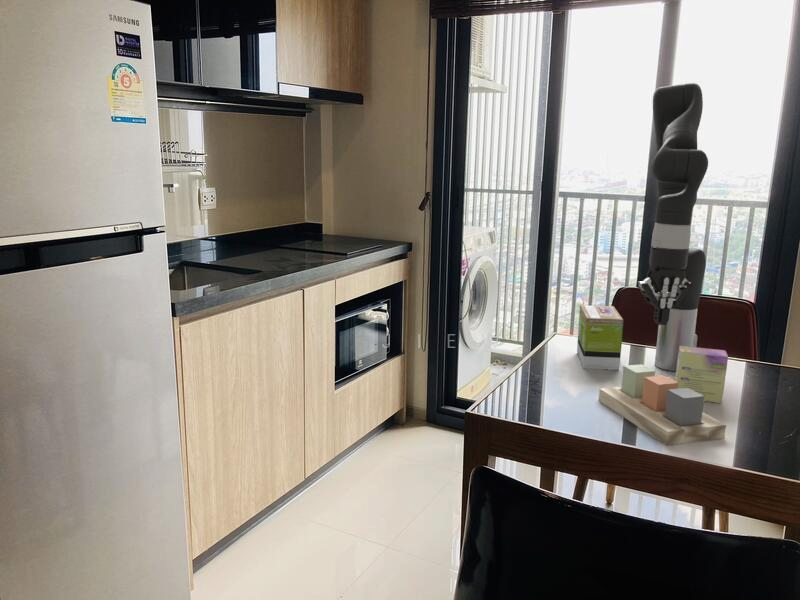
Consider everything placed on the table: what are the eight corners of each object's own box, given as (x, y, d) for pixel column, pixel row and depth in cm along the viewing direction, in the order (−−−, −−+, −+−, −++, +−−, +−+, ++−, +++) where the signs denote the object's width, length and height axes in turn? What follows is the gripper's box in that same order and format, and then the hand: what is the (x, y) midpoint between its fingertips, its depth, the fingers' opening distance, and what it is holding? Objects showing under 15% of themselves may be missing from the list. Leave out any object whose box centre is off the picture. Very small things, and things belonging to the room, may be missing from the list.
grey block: (684, 416, 141) (687, 387, 139) (700, 425, 136) (704, 396, 135) (664, 418, 140) (667, 389, 138) (680, 427, 135) (683, 398, 133)
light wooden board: (649, 395, 160) (650, 383, 159) (724, 438, 136) (726, 425, 135) (598, 400, 156) (599, 388, 155) (666, 445, 132) (668, 431, 132)
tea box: (575, 352, 193) (579, 303, 190) (610, 354, 192) (615, 305, 188) (582, 369, 178) (586, 316, 175) (620, 371, 177) (625, 318, 174)
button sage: (639, 390, 156) (641, 364, 154) (652, 397, 151) (655, 371, 150) (620, 391, 155) (623, 365, 153) (633, 399, 150) (636, 372, 148)
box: (719, 395, 160) (725, 349, 158) (722, 404, 155) (728, 356, 152) (673, 390, 163) (678, 344, 161) (674, 398, 158) (680, 351, 156)
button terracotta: (660, 402, 148) (663, 375, 147) (675, 410, 144) (678, 382, 142) (641, 404, 147) (644, 377, 146) (655, 413, 142) (658, 384, 141)
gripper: (685, 243, 144) (675, 319, 148) (632, 242, 141) (623, 320, 145) (708, 247, 137) (698, 327, 141) (653, 247, 134) (644, 329, 138)
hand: (660, 324), depth 143 cm, fingers closed
